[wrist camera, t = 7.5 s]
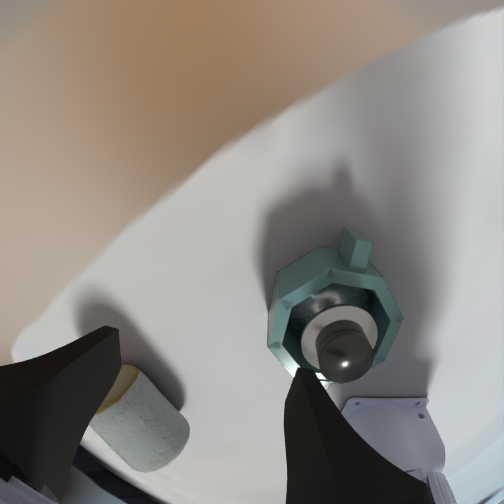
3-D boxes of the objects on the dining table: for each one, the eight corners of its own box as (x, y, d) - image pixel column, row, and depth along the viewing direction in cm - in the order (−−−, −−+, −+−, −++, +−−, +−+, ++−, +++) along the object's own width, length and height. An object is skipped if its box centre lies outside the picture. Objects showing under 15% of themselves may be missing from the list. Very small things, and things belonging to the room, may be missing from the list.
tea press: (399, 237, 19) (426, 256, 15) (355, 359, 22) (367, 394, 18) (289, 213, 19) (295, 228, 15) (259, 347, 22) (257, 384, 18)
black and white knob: (376, 277, 19) (411, 323, 13) (352, 344, 21) (373, 400, 15) (299, 263, 19) (311, 309, 13) (281, 334, 21) (283, 394, 15)
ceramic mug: (145, 348, 23) (107, 410, 16) (199, 410, 25) (180, 473, 18) (80, 374, 26) (44, 421, 18) (128, 425, 28) (104, 474, 20)
